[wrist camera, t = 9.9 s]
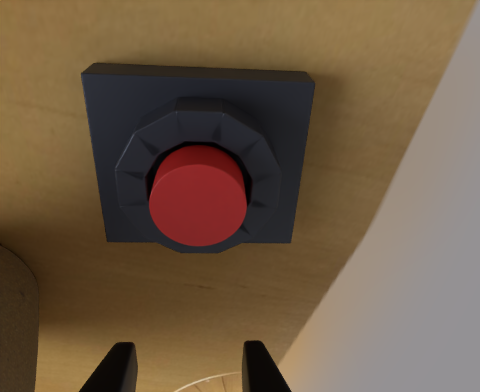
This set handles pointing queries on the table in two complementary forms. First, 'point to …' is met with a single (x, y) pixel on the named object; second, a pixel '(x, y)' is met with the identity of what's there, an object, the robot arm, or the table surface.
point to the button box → (197, 141)
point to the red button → (198, 196)
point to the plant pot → (17, 324)
